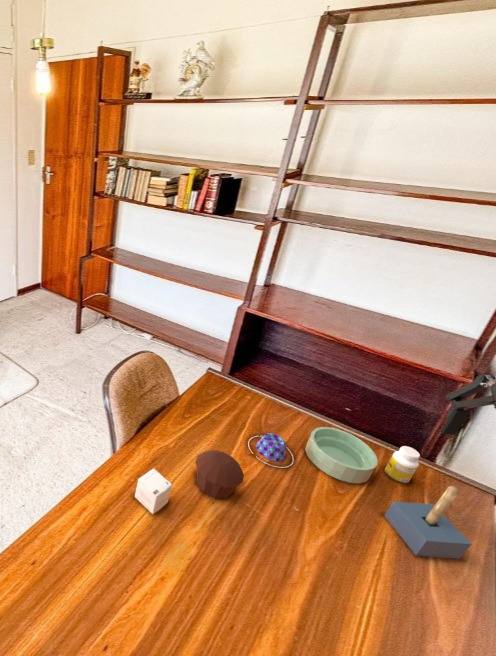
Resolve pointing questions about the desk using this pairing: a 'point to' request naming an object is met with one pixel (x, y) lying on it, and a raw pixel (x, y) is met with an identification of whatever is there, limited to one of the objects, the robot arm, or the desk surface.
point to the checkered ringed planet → (272, 448)
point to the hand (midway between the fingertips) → (475, 457)
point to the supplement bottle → (403, 464)
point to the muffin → (218, 473)
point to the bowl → (341, 455)
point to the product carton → (153, 491)
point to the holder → (426, 531)
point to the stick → (441, 505)
